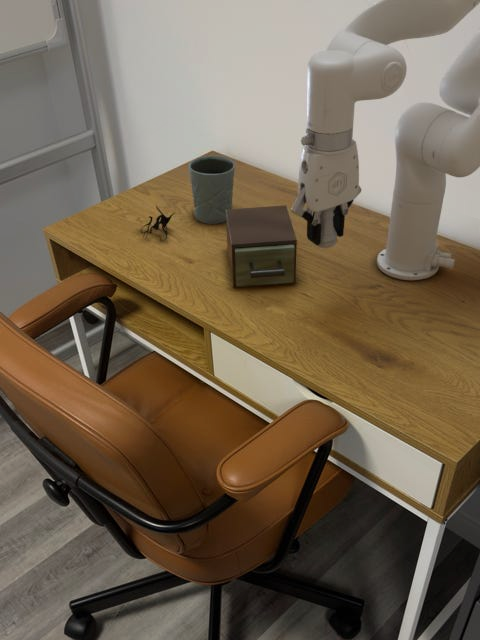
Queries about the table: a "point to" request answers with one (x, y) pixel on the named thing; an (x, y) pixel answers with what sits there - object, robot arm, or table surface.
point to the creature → (163, 221)
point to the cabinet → (258, 231)
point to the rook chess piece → (327, 229)
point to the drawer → (264, 265)
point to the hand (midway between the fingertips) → (325, 236)
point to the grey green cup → (212, 187)
